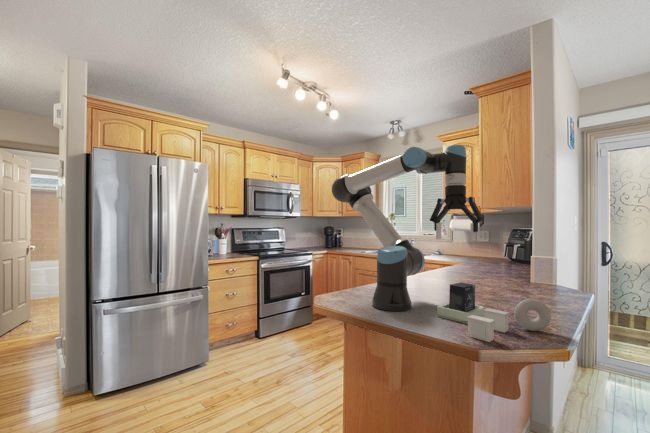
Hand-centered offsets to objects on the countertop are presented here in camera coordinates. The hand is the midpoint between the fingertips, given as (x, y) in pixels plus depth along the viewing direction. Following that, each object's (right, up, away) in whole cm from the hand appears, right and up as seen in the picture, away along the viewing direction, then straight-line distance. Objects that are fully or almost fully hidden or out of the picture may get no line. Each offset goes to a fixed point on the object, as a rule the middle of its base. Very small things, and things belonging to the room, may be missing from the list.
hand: (455, 240), depth 120 cm
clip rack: (-1, -26, -27) cm, 37 cm away
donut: (+14, -27, -24) cm, 38 cm away
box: (-2, -26, -11) cm, 28 cm away
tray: (-2, -26, -10) cm, 29 cm away
